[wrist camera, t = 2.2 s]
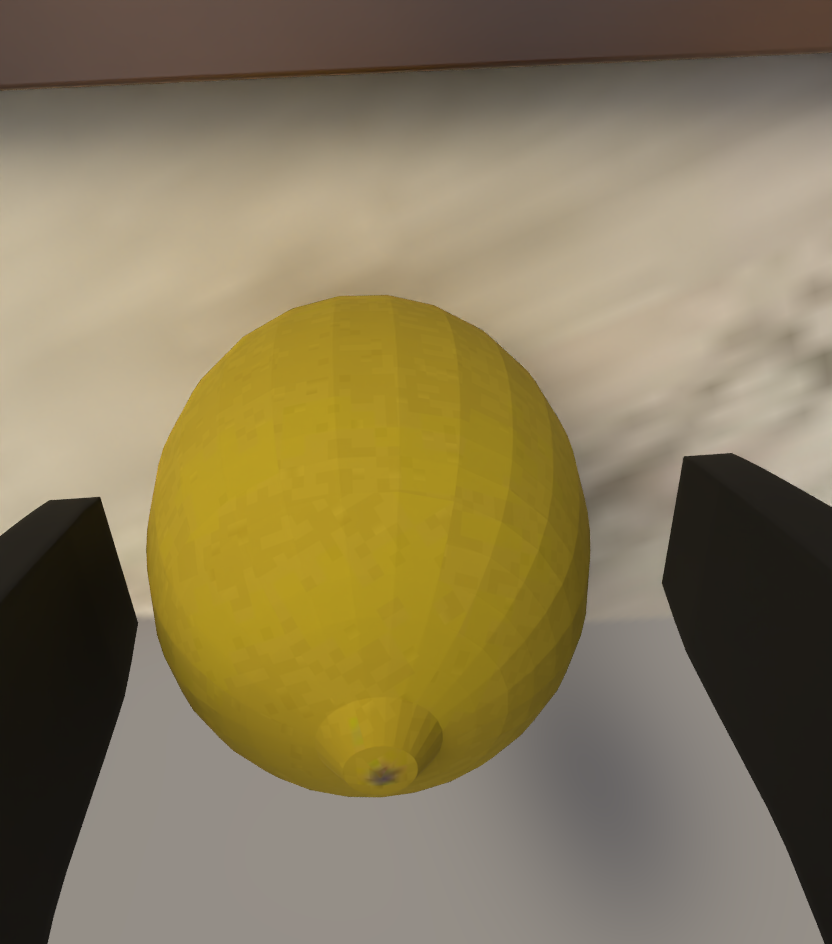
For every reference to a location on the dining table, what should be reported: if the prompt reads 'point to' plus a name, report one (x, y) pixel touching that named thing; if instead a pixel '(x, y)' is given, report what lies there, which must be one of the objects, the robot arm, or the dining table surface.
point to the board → (379, 36)
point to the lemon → (368, 547)
